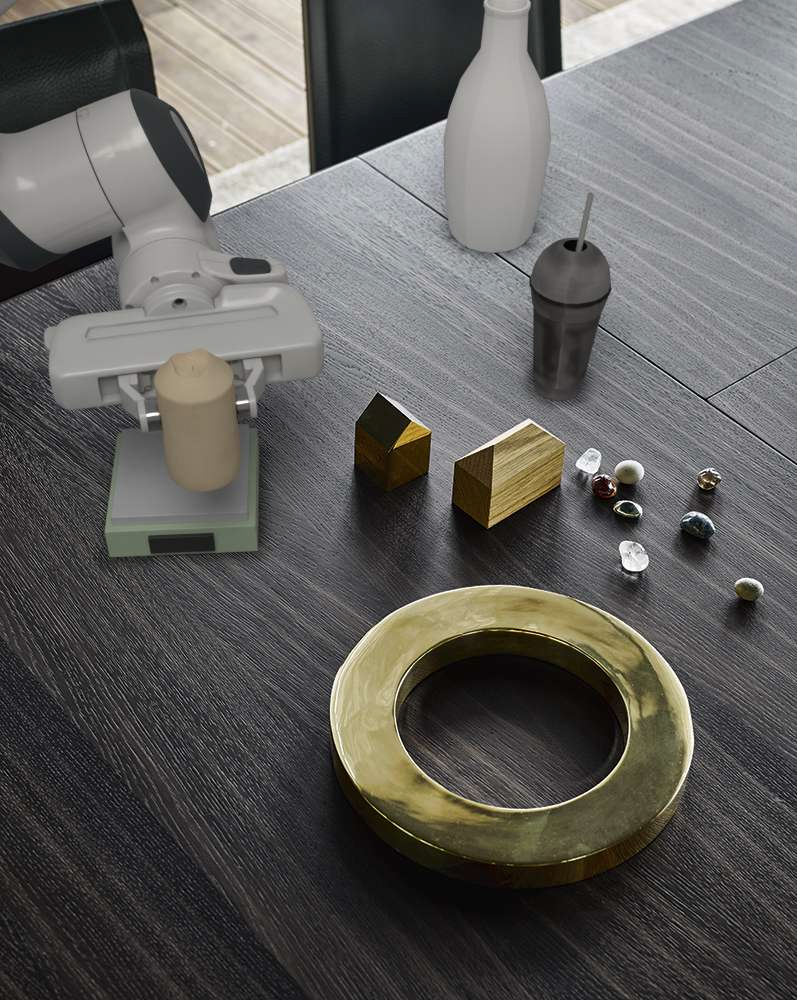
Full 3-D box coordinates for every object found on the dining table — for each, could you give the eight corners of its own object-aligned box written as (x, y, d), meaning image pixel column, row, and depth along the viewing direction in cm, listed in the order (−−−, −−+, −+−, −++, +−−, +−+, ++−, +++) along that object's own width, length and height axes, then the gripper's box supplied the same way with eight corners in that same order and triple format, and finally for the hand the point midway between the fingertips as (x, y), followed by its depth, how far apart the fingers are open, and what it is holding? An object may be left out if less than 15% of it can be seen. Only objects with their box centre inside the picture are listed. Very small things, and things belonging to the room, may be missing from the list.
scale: (109, 560, 102) (101, 526, 99) (122, 458, 110) (115, 424, 108) (257, 554, 102) (254, 520, 100) (259, 453, 111) (256, 419, 108)
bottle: (538, 206, 142) (561, -21, 124) (544, 261, 134) (570, 27, 116) (439, 204, 142) (448, -23, 124) (439, 259, 134) (449, 24, 116)
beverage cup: (502, 383, 119) (519, 195, 105) (555, 352, 122) (578, 167, 108) (558, 420, 115) (584, 231, 101) (611, 388, 118) (643, 200, 104)
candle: (154, 481, 92) (137, 374, 85) (188, 435, 96) (174, 329, 89) (222, 500, 91) (210, 393, 84) (253, 452, 95) (245, 346, 88)
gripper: (35, 288, 94) (42, 403, 85) (302, 257, 98) (338, 364, 89) (49, 355, 99) (57, 472, 89) (305, 323, 103) (339, 432, 93)
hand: (200, 418), depth 89 cm, fingers closed on candle, 5 cm apart
